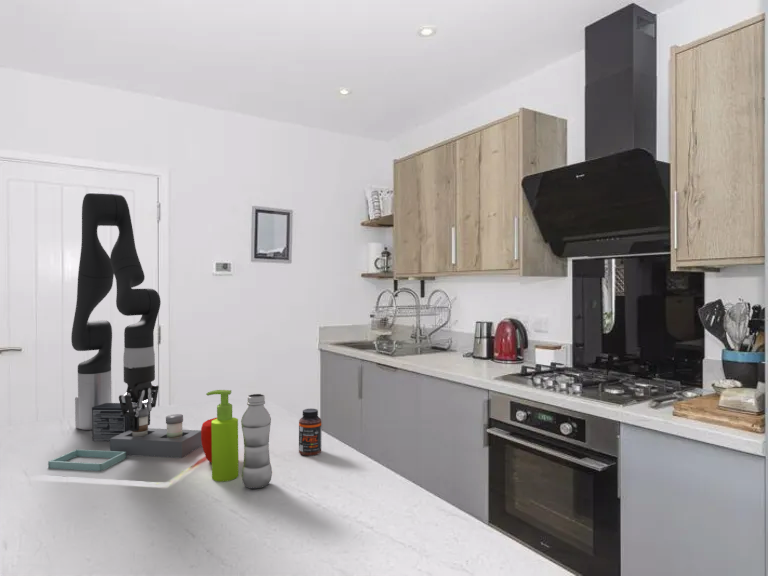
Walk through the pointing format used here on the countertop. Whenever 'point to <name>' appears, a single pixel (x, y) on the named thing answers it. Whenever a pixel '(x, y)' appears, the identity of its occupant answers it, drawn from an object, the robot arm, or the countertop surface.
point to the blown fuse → (142, 423)
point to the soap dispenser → (224, 440)
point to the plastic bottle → (256, 443)
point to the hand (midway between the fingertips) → (139, 427)
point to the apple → (207, 439)
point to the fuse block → (159, 440)
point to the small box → (108, 421)
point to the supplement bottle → (310, 433)
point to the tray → (61, 463)
